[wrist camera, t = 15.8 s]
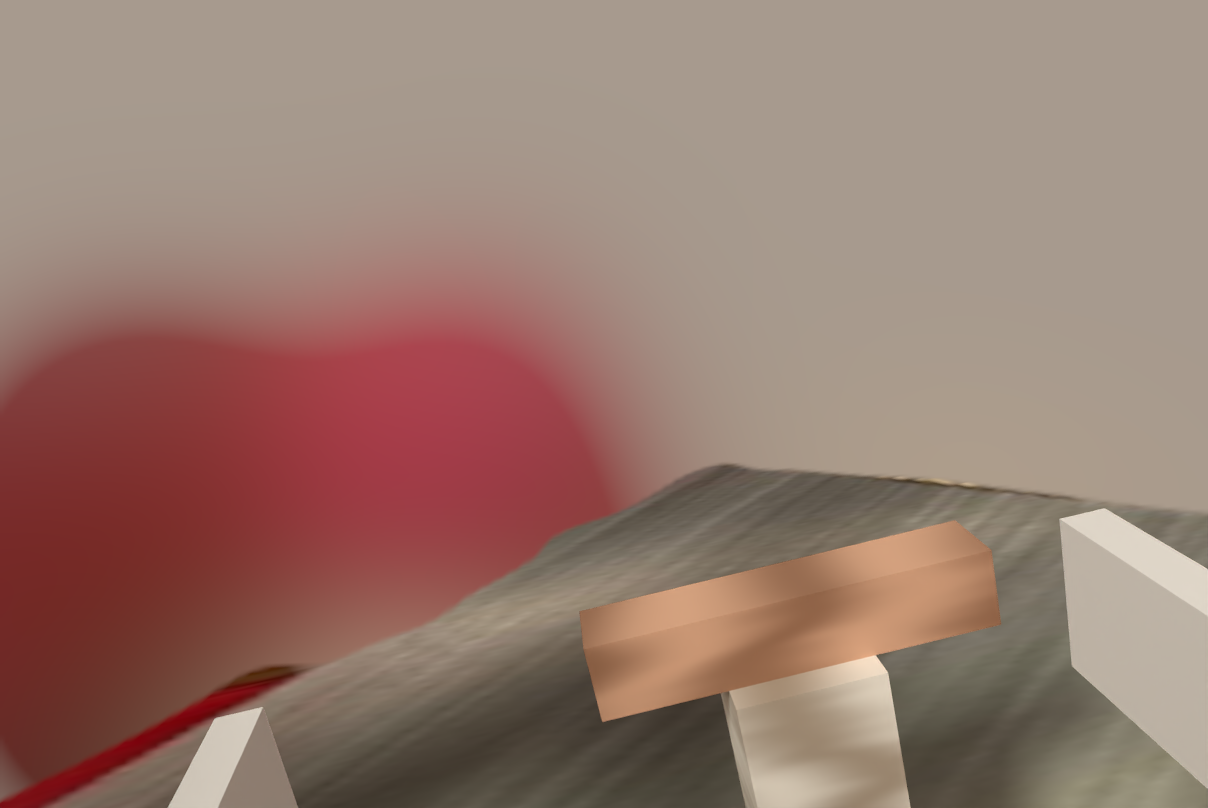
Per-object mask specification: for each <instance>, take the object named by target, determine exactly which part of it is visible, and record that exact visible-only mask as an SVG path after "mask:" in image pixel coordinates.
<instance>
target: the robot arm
mask: <svg viewBox="0 0 1208 808" xmlns="http://www.w3.org/2000/svg"><path fill="white" fill-rule="evenodd" d="M1060 529H1061V541H1062V553H1063V565H1064V577H1065V589H1066V601H1067V613H1068V625H1069V637H1070V649H1071V661H1072V667H1073V668H1075V669H1076V670H1077V671H1078V672H1079V673H1080V674H1081V675H1082V676H1083V677H1084V678H1086V679H1087V680H1088V681H1089V682H1090V683H1091V684H1092V685H1093V686H1094V687H1096V688H1097V689H1098V690H1099V691H1100V692H1101V693H1102V694H1103V695H1104V696H1105V697H1107V698H1108V699H1109V700H1110V701H1111V702H1112V703H1113V704H1114V705H1115V706H1117V707H1118V708H1119V709H1120V710H1121V711H1122V712H1123V713H1124V714H1125V715H1126V716H1128V717H1129V718H1130V719H1131V720H1132V721H1133V722H1134V723H1135V724H1136V725H1138V726H1139V727H1140V728H1141V729H1142V730H1143V731H1144V732H1145V733H1146V734H1148V735H1149V736H1150V737H1151V738H1152V739H1153V740H1154V741H1155V742H1156V743H1157V744H1159V745H1160V746H1161V747H1162V748H1163V749H1164V750H1165V751H1166V752H1167V753H1169V754H1170V755H1171V756H1172V757H1173V758H1174V759H1175V760H1176V761H1177V762H1178V763H1180V764H1181V765H1182V766H1183V767H1184V768H1185V769H1186V770H1187V771H1188V772H1190V773H1191V774H1192V775H1193V776H1194V777H1195V778H1196V779H1197V780H1198V781H1199V782H1201V783H1202V784H1203V785H1204V786H1205V787H1206V788H1207V789H1208V569H1207V568H1205V567H1203V566H1201V565H1200V564H1198V563H1196V562H1195V561H1193V560H1191V559H1190V558H1188V557H1186V556H1184V555H1183V554H1181V553H1179V552H1178V551H1176V550H1174V549H1173V548H1171V547H1169V546H1168V545H1166V544H1164V543H1162V542H1161V541H1159V540H1157V539H1156V538H1154V537H1152V536H1151V535H1149V534H1147V533H1145V532H1144V531H1142V530H1140V529H1139V528H1137V527H1135V526H1134V525H1132V524H1130V523H1128V522H1127V521H1125V520H1123V519H1122V518H1120V517H1118V516H1117V515H1115V514H1113V513H1111V512H1110V511H1108V510H1106V509H1105V508H1104V509H1100V510H1096V511H1091V512H1087V513H1083V514H1079V515H1075V516H1070V517H1066V518H1062V519H1060ZM168 808H298V806H297V803H296V800H295V797H294V794H293V792H292V789H291V786H290V783H289V780H288V777H287V774H286V771H285V769H284V766H283V763H282V760H281V757H280V754H279V751H278V748H277V746H276V743H275V740H274V737H273V734H272V731H271V728H270V725H269V723H268V720H267V717H266V714H265V711H264V708H263V707H261V708H257V709H253V710H249V711H244V712H240V713H236V714H232V715H227V716H223V717H219V718H215V719H214V721H213V723H212V725H211V727H210V729H209V731H208V733H207V734H206V736H205V738H204V740H203V742H202V744H201V746H200V748H199V750H198V751H197V753H196V755H195V757H194V759H193V761H192V763H191V765H190V767H189V769H188V770H187V772H186V774H185V776H184V778H183V780H182V782H181V784H180V786H179V787H178V789H177V791H176V793H175V795H174V797H173V799H172V801H171V803H170V805H169V806H168Z"/></svg>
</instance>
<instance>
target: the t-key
mask: <svg viewBox="0 0 1208 808" xmlns="http://www.w3.org/2000/svg"><path fill="white" fill-rule="evenodd" d="M579 612H580V621H581V630H582V639H583V648H584V653H585V657H586V661H587V664H588V668H589V672H590V676H591V680H592V684H593V688H594V692H595V696H596V699H597V703H598V707H599V711H600V715H601V719H602V722H605V721H609V720H613V719H617V718H621V717H625V716H629V715H633V714H637V713H641V712H645V711H650V710H654V709H658V708H662V707H666V706H670V705H674V704H678V703H682V702H686V701H690V700H695V699H699V698H703V697H707V696H711V695H715V694H719V693H721V697H722V701H723V706H724V710H725V715H726V720H727V724H728V729H729V733H730V738H731V742H732V747H733V752H734V756H735V761H736V765H737V770H738V774H739V779H740V784H741V788H742V793H743V797H744V802H745V806H746V808H911V807H910V801H909V795H908V789H907V783H906V777H905V771H904V765H903V759H902V753H901V747H900V741H899V735H898V729H897V724H896V718H895V712H894V706H893V700H892V694H891V688H890V682H889V676H888V672H887V671H886V669H885V668H884V666H883V665H882V664H881V662H880V661H879V659H878V658H877V657H876V655H878V654H882V653H887V652H891V651H895V650H899V649H903V648H907V647H911V646H915V645H919V644H923V643H927V642H931V641H936V640H940V639H944V638H948V637H952V636H956V635H960V634H964V633H968V632H972V631H976V630H980V629H985V628H989V627H993V626H997V625H1001V620H1000V612H999V605H998V597H997V590H996V582H995V574H994V567H993V559H992V552H991V550H990V549H989V548H988V547H987V546H986V545H984V544H983V543H982V542H981V541H979V540H978V539H977V538H976V537H975V536H973V535H972V534H971V533H970V532H969V531H967V530H966V529H965V528H964V527H962V526H961V525H960V524H959V523H958V522H956V521H950V522H946V523H942V524H938V525H934V526H930V527H926V528H922V529H917V530H913V531H909V532H905V533H901V534H897V535H893V536H889V537H884V538H880V539H876V540H872V541H868V542H864V543H860V544H856V545H851V546H847V547H843V548H839V549H835V550H831V551H827V552H823V553H818V554H814V555H810V556H806V557H802V558H798V559H794V560H790V561H785V562H781V563H777V564H773V565H769V566H765V567H761V568H757V569H752V570H748V571H744V572H740V573H736V574H732V575H728V576H724V577H720V578H715V579H711V580H707V581H703V582H699V583H695V584H691V585H687V586H682V587H678V588H674V589H670V590H666V591H662V592H658V593H654V594H649V595H645V596H641V597H637V598H633V599H629V600H625V601H621V602H616V603H612V604H608V605H604V606H600V607H596V608H592V609H588V610H583V611H579Z"/></svg>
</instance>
